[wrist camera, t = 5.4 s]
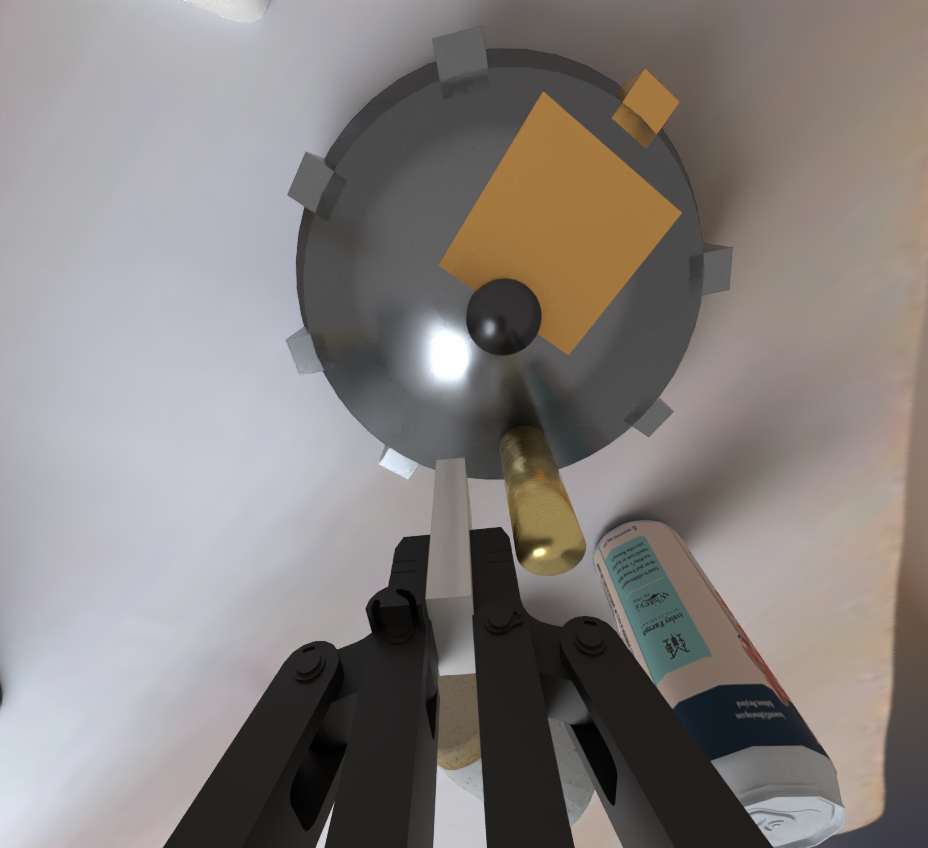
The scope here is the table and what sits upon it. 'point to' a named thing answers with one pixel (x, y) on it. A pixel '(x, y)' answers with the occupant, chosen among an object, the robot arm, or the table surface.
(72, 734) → the table surface
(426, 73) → the hub plate
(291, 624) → the table surface
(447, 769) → the ceramic mug
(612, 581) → the beer can
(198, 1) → the calculator
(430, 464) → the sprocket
